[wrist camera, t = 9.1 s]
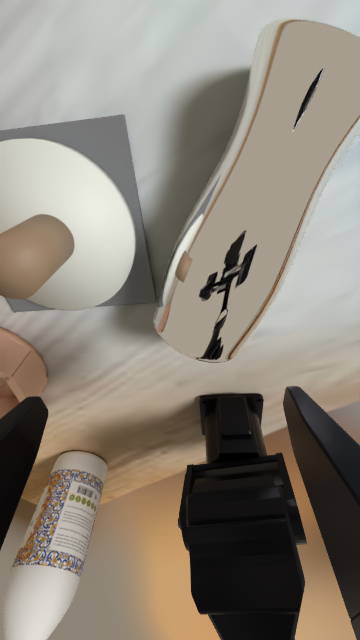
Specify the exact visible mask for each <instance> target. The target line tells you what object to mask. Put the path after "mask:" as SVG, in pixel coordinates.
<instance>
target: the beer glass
mask: <svg viewBox="0 0 360 640" xmlns="http://www.w3.org/2000/svg"><path fill="white" fill-rule="evenodd" d="M359 135H360V36H358V35H356V34H354V33H352V32H349V31H347V30H345V29H342V28H339V27H336V26H333V25H330V24H327V23H323V22H319V21H314V20H309V19H301V18H283V19H278V20H274V21H272V22H270V23H268V24H266V25H265V26H264V27H263V28H262V30H261V31H260V33H259V36H258V39H257V43H256V47H255V51H254V55H253V60H252V65H251V69H250V74H249V78H248V83H247V87H246V91H245V96H244V99H243V103H242V106H241V110H240V113H239V116H238V119H237V121H236V124H235V127H234V130H233V133H232V135H231V137H230V139H229V142H228V144H227V146H226V148H225V151H224V153H223V155H222V157H221V158H220V160H219V162H218V164H217V166H216V168H215V170H214V172H213V173H212V175H211V177H210V179H209V181H208V182H207V184H206V186H205V188H204V189H203V191H202V193H201V195H200V197H199V198H198V200H197V202H196V204H195V206H194V208H193V209H192V211H191V213H190V215H189V217H188V218H187V220H186V222H185V224H184V227H183V229H182V231H181V233H180V235H179V237H178V239H177V241H176V243H175V246H174V249H173V251H172V254H171V256H170V259H169V262H168V265H167V268H166V271H165V275H164V278H163V281H162V285H161V289H160V293H159V297H158V301H157V305H156V309H155V312H154V314H153V323H154V326H155V329H156V331H157V332H158V334H159V335H160V336H161V338H162V339H163V340H164V341H165V342H166V343H167V344H169V345H170V346H171V347H172V348H174V349H175V350H177V351H178V352H180V353H182V354H184V355H186V356H188V357H190V358H193V359H196V360H199V361H204V362H210V363H221V362H226V361H229V360H231V359H233V358H234V357H235V356H236V355H237V354H238V352H239V350H240V349H241V347H242V346H243V345H244V343H245V342H246V341H247V340H248V338H249V337H250V336H251V334H252V333H253V332H254V330H255V329H256V328H257V326H258V325H259V324H260V322H261V321H262V319H263V318H264V316H265V315H266V313H267V312H268V310H269V309H270V307H271V306H272V304H273V302H274V301H275V299H276V297H277V295H278V294H279V292H280V290H281V288H282V286H283V284H284V282H285V280H286V278H287V276H288V274H289V271H290V269H291V267H292V265H293V262H294V260H295V258H296V255H297V253H298V250H299V248H300V246H301V243H302V241H303V238H304V236H305V233H306V231H307V228H308V226H309V223H310V221H311V218H312V216H313V214H314V211H315V209H316V207H317V204H318V202H319V200H320V197H321V195H322V193H323V191H324V189H325V187H326V186H327V183H328V182H329V180H330V178H331V176H332V174H333V172H334V171H335V169H336V168H337V166H338V164H339V163H340V161H341V160H342V158H343V156H344V155H345V154H346V152H347V151H348V149H349V148H350V147H351V145H352V144H353V143H354V141H355V140H356V139H357V137H358V136H359Z"/></svg>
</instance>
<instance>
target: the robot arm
mask: <svg viewBox="0 0 360 640" xmlns="http://www.w3.org/2000/svg"><path fill="white" fill-rule="evenodd" d="M199 400H200V413H201V423H202V434H203V435H205V437H206V462H207V464H200V465H193V464H192V465H187V472H186V474H185V480H184V486H183V492H182V499H181V506H180V512H179V518H178V526H179V528H180V529H181V530H182V537H183V541H184V544H185V547H186V549H187V550H188V551H189V554H190V568H191V593H192V597H193V599H194V602H195V604H196V607H197V609H198V612H199V613H200V614H208V616H209V618H210V620H211V621H212V623H213V625H214V627H215V629H216V631H217V633H218V635H219V637H220V639H221V640H295V633H296V628H297V622H298V617H299V612H300V607H301V602H302V597H303V592H304V586H305V580H304V574H303V571H302V566H301V562H300V558H299V554H298V551H297V546H296V545H302V544H307V542H306V537H305V533H304V529H303V525H302V522H301V518H300V514H299V510H298V507H297V503H296V499H295V496H294V492H293V489H292V486H291V482H290V479H289V475H288V472H287V468H286V465H285V462H284V458H283V455H282V453H276V455H269V456H267V452H266V448H265V444H264V439H263V435H262V430H261V419H262V410H263V401H264V400H263V396H262V395H261V394H244V395H216V396H202V397H200V399H199ZM283 407H284V412H285V417H286V421H287V426H288V430H289V435H290V439H291V444H292V448H293V452H294V455H295V458H296V461H297V464H298V467H299V470H300V473H301V476H302V479H303V482H304V485H305V488H306V491H307V494H308V497H309V500H310V503H311V506H312V508H313V511H314V514H315V517H316V520H317V523H318V526H319V529H320V532H321V535H322V538H323V540H324V544H325V547H326V550H327V553H328V556H329V559H330V561H331V565H332V567H333V570H334V573H335V576H336V579H337V582H338V585H339V588H340V591H341V594H342V597H343V599H344V602H345V606H346V609H347V612H348V614H349V617H350V619H351V624H352V627H353V629H354V633H355V636H356V639H357V640H360V445H359V444H358V443H357V442H356V441H355V440H353V438H352V437H351V436H349V434H348V433H346V432H345V431H344V430H343V429H342V428H341V427H340V426H339V425H338V424H337V423H336V422H335V421H334V420H333V419H332V418H331V417H330V416H329V415H328V414H327V413H326V412H325V411H324V410H323V409H322V408H321V407H320V406H319V405H318V404H317V403H316V402H315V401H313V400H312V399H311V398H310V397H309V396H308V395H307V394H306V393H305V392H304V391H303V390H302V389H301V388H300V387H298V386H289V387H286V389H285V395H284V401H283ZM47 418H48V409H47V407H46V405H45V404H44V402H43V400H42V399H41V397H39V396H29V397H27V398H25V399H24V400H23V401H21V402H20V403H19V404H18V405H17V406H15V407H14V408H13V409H12V410H10V411H9V412H8V413H7V414H5V415H4V416H3V417H2V418H0V550H1V547H2V545H3V542H4V539H5V537H6V534H7V532H8V529H9V527H10V524H11V521H12V519H13V516H14V514H15V511H16V508H17V506H18V503H19V501H20V498H21V496H22V493H23V490H24V488H25V485H26V483H27V480H28V477H29V475H30V472H31V470H32V467H33V464H34V462H35V459H36V456H37V453H38V450H39V447H40V443H41V439H42V436H43V432H44V429H45V425H46V421H47Z"/></svg>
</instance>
